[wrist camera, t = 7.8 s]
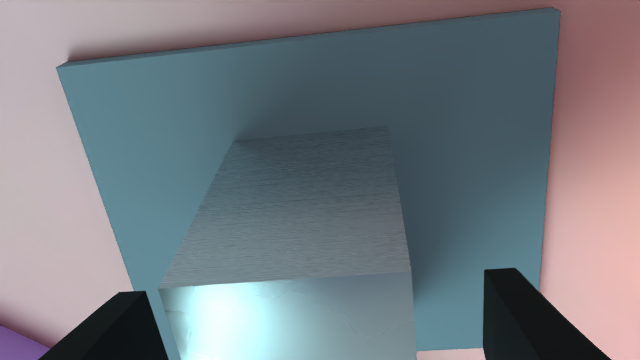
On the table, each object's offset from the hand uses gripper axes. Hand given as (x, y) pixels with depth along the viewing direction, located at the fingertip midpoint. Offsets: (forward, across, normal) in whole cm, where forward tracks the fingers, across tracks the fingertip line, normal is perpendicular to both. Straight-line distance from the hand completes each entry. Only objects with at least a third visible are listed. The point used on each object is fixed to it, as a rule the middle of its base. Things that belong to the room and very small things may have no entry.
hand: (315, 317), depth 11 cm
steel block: (+4, 0, 0) cm, 4 cm away
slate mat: (+4, 0, 0) cm, 4 cm away
